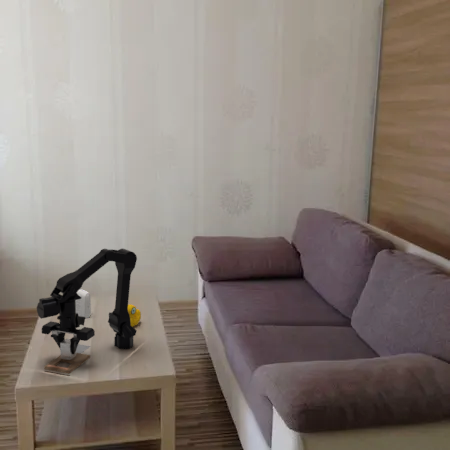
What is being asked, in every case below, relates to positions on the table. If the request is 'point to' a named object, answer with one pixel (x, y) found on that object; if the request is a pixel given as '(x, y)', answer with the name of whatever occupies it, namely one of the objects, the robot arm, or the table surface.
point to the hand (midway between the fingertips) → (68, 353)
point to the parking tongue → (81, 348)
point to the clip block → (66, 350)
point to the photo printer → (83, 304)
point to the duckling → (134, 315)
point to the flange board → (74, 362)
